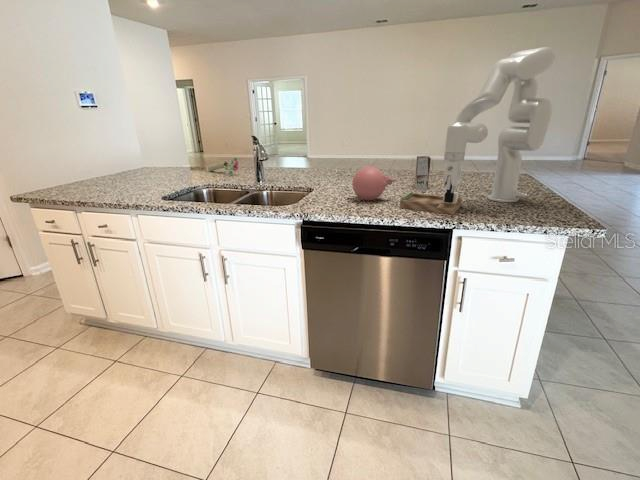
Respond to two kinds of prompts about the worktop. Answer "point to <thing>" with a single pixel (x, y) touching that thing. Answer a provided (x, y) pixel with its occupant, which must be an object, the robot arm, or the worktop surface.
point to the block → (453, 198)
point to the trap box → (428, 203)
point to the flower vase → (224, 166)
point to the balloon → (370, 183)
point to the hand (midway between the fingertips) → (448, 201)
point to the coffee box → (422, 172)
